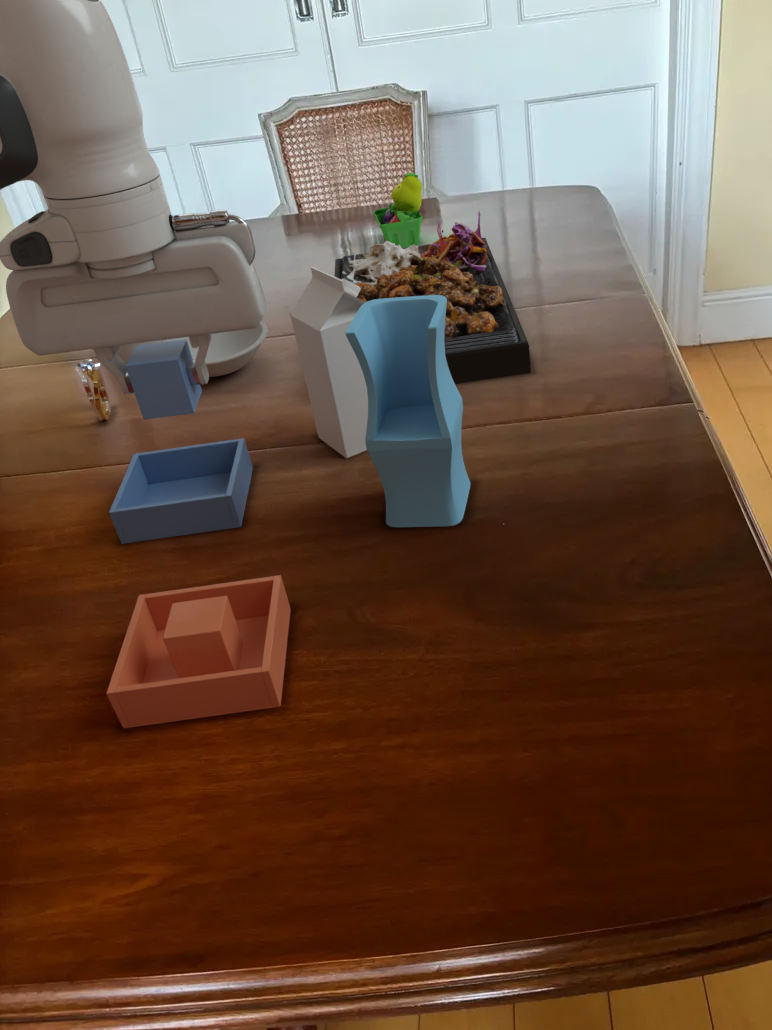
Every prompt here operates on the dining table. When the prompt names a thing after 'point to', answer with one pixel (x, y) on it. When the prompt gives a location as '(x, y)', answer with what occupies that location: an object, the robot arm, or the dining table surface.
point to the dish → (230, 349)
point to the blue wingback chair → (412, 409)
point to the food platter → (450, 298)
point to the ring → (95, 387)
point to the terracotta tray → (166, 698)
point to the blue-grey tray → (183, 491)
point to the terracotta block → (203, 637)
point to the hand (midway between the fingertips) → (167, 386)
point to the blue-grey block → (163, 379)
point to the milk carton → (332, 361)
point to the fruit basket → (402, 213)
